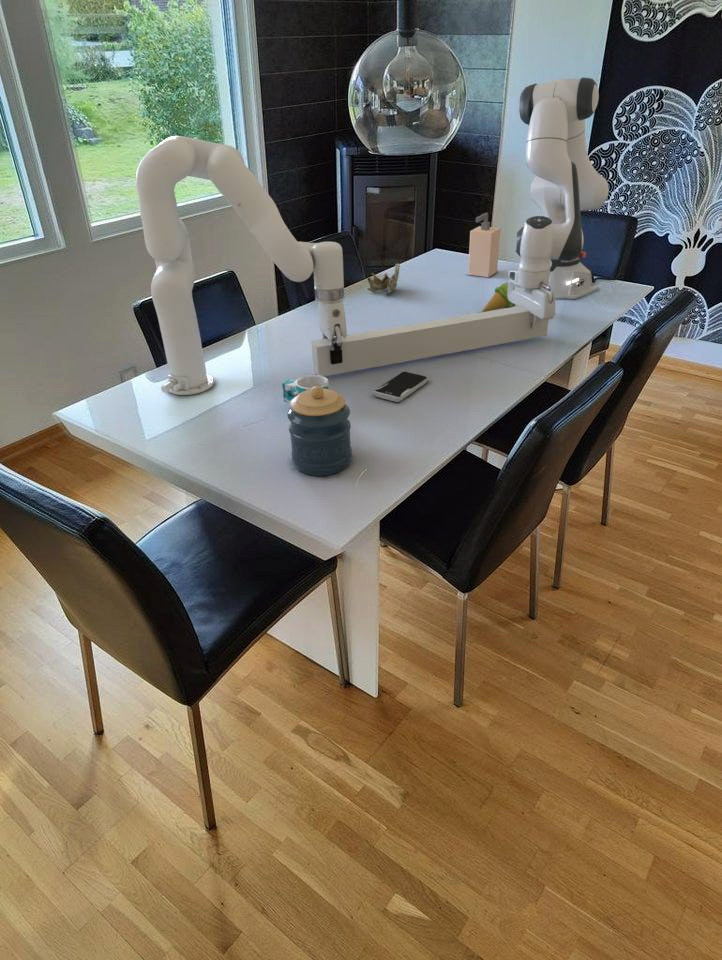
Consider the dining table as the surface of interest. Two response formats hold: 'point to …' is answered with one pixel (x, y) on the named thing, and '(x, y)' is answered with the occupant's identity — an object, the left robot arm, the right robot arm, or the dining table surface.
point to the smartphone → (400, 386)
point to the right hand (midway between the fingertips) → (528, 324)
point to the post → (426, 339)
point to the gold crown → (384, 281)
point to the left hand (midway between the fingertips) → (333, 358)
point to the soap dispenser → (483, 248)
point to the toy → (499, 299)
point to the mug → (302, 386)
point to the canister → (320, 432)
